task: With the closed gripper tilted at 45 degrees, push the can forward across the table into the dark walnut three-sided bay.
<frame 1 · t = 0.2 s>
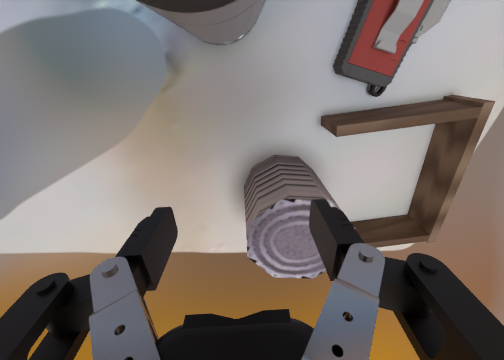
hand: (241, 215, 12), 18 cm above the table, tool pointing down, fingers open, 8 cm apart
walnut bay: (370, 176, 32), on the table
can: (279, 187, 33), on the table
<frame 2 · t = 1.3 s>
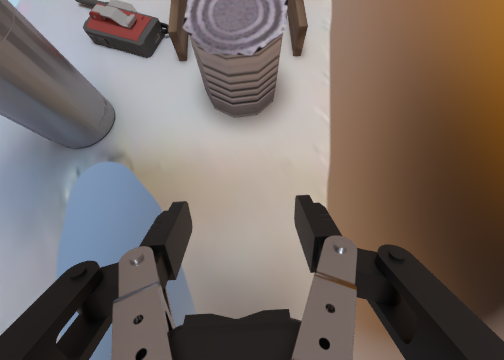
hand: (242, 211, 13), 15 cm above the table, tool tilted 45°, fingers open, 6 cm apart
walnut bay: (238, 23, 38), on the table
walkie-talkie: (118, 31, 38), on the table
can: (241, 88, 34), on the table
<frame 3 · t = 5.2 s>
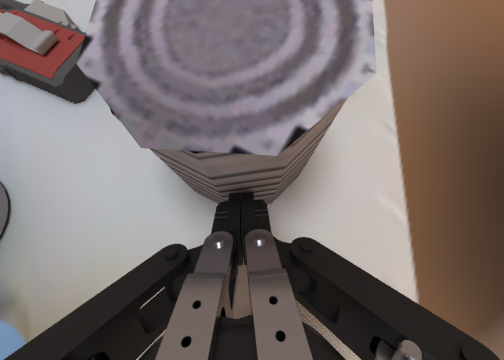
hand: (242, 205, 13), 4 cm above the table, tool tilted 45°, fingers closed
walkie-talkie: (45, 53, 24), on the table
can: (242, 149, 19), on the table, touching gripper
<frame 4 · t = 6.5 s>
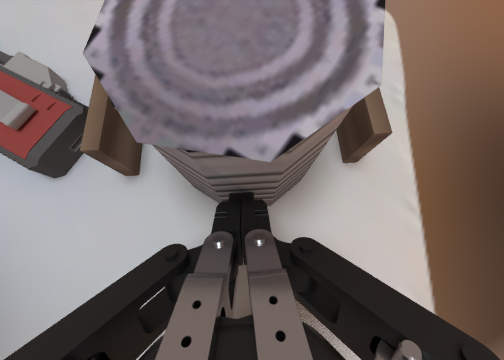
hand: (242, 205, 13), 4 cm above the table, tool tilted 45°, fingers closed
walnut bay: (237, 93, 21), on the table
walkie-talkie: (27, 109, 21), on the table
can: (245, 150, 19), on the table, touching gripper
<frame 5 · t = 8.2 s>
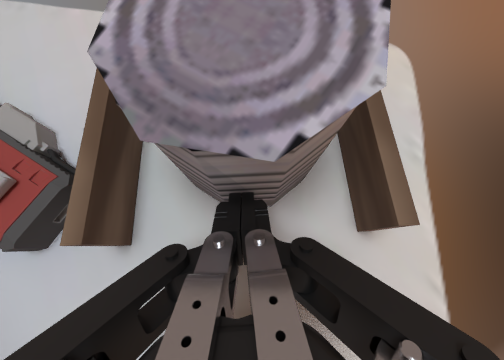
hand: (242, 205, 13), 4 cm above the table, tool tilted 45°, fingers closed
walnut bay: (240, 146, 19), on the table
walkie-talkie: (13, 163, 19), on the table
can: (247, 149, 19), on the table, touching gripper
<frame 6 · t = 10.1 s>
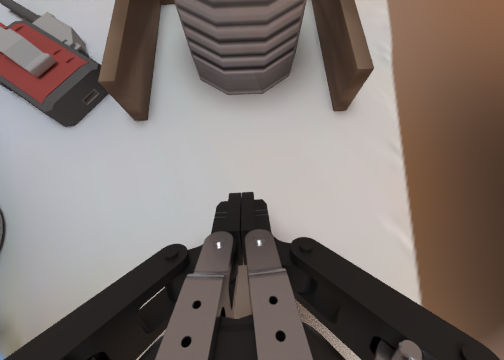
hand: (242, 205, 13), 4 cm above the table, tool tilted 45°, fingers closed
walnut bay: (238, 52, 23), on the table
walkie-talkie: (49, 66, 23), on the table
can: (243, 55, 23), on the table
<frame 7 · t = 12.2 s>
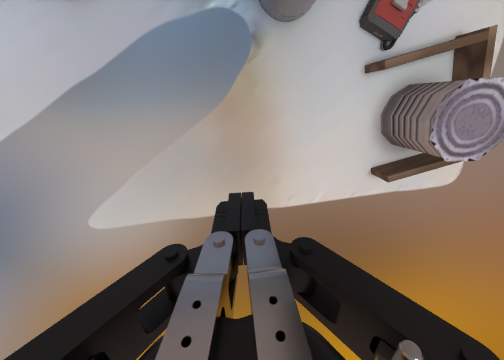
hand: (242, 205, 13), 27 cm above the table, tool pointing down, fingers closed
walnut bay: (409, 112, 40), on the table
can: (407, 116, 40), on the table
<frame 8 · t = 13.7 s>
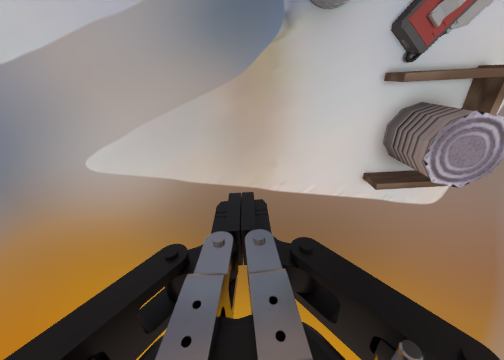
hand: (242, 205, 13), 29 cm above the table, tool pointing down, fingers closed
walnut bay: (414, 129, 41), on the table
can: (411, 132, 42), on the table
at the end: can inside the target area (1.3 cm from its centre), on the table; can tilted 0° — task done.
